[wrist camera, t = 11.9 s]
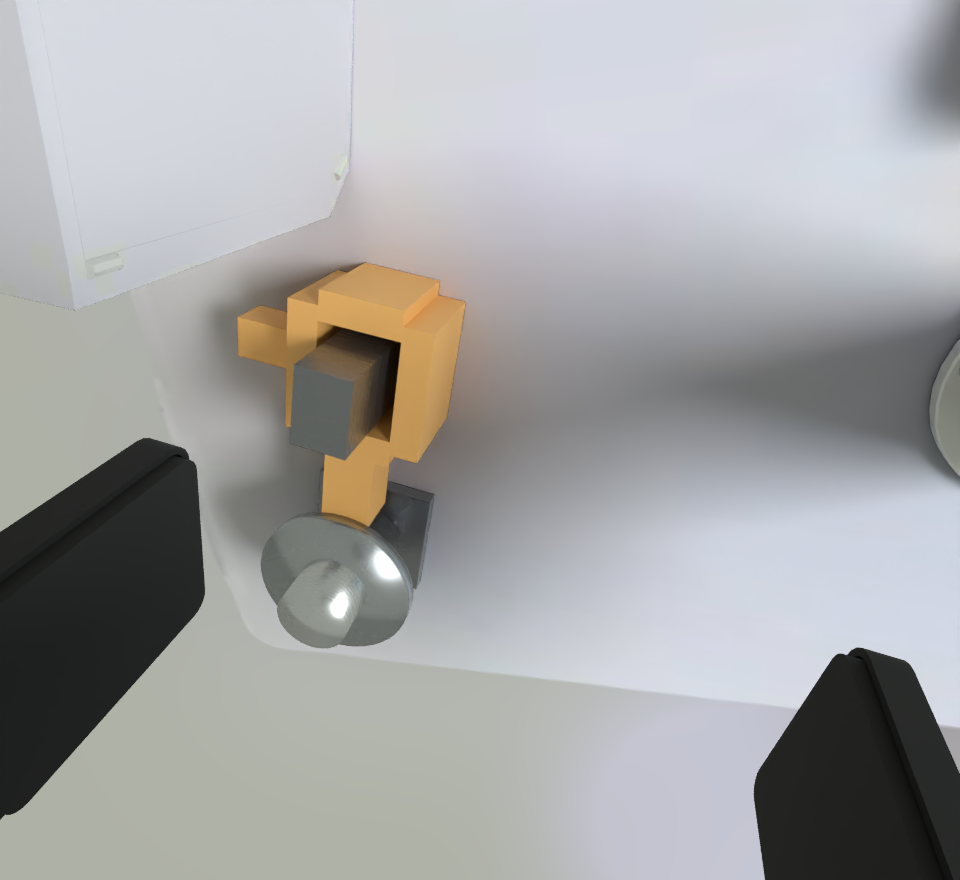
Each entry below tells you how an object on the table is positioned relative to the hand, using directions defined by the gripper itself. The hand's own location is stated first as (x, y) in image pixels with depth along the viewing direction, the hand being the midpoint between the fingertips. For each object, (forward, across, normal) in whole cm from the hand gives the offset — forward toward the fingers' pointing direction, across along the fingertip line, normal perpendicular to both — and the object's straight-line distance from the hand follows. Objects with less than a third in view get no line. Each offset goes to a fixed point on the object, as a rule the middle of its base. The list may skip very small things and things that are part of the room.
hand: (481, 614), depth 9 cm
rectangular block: (+28, +11, +9) cm, 32 cm away
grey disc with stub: (+28, +11, +23) cm, 38 cm away
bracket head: (+28, +13, +11) cm, 33 cm away
